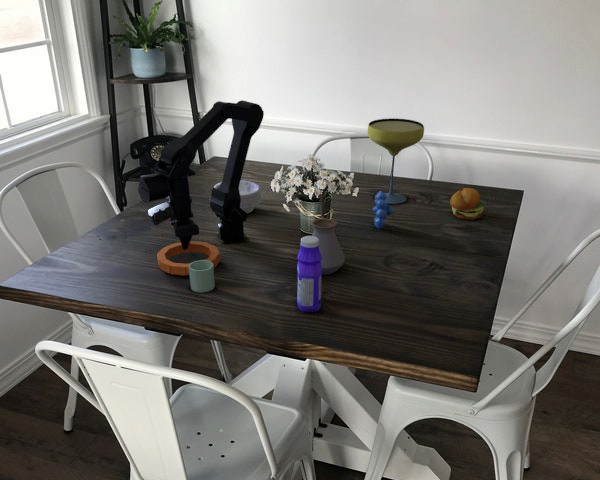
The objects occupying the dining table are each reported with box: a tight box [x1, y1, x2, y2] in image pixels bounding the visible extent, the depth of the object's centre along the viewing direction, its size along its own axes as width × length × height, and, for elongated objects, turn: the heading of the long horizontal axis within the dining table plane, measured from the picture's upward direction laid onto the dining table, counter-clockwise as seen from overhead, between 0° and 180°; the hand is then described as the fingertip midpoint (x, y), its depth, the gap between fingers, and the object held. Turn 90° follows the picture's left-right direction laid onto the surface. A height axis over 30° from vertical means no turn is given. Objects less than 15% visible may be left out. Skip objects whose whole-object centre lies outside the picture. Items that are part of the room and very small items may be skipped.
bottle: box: [296, 235, 323, 313], centre depth 144 cm, size 7×6×17 cm
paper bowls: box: [213, 179, 262, 214], centre depth 201 cm, size 15×15×8 cm
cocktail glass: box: [367, 118, 425, 205], centre depth 206 cm, size 18×18×25 cm
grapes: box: [371, 190, 395, 230], centre depth 187 cm, size 12×7×12 cm, turn 176°
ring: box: [156, 240, 221, 276], centre depth 166 cm, size 16×16×2 cm
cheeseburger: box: [448, 187, 485, 221], centre depth 197 cm, size 10×11×10 cm
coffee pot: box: [311, 194, 346, 275], centre depth 167 cm, size 21×12×15 cm, turn 0°
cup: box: [188, 259, 216, 293], centre depth 155 cm, size 6×6×6 cm
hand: (184, 247), depth 172 cm, fingers closed on ring, 2 cm apart
